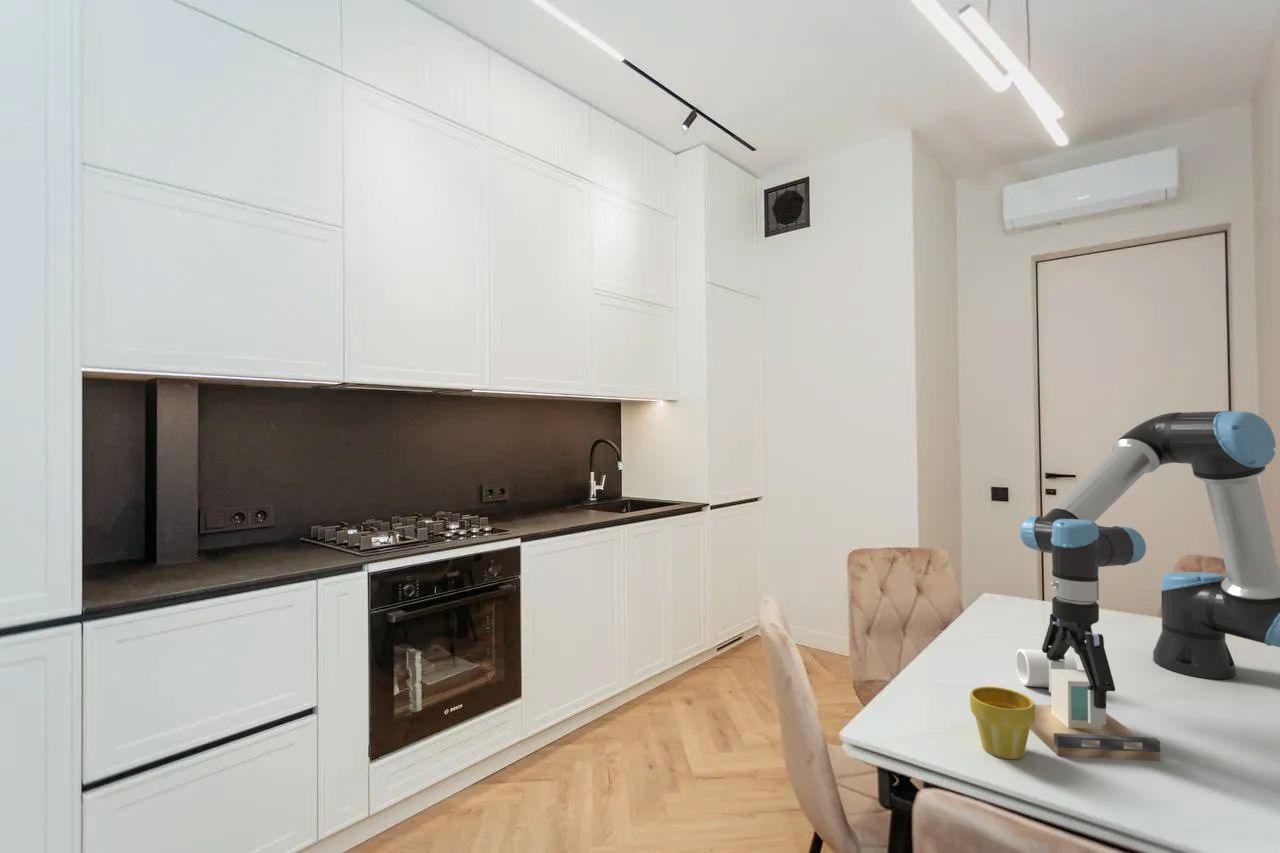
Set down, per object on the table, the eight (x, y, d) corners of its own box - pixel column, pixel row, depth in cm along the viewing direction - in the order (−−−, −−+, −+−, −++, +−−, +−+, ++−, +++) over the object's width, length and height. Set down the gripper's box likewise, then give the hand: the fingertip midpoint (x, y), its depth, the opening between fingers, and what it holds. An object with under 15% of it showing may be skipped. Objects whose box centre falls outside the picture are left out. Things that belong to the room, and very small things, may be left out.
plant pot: (958, 737, 119) (958, 686, 119) (1009, 735, 120) (1009, 684, 120) (993, 767, 109) (993, 711, 109) (1049, 763, 110) (1049, 708, 110)
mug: (1078, 695, 138) (1078, 659, 138) (1029, 691, 140) (1028, 656, 140) (1054, 674, 150) (1054, 640, 150) (1008, 671, 152) (1008, 638, 152)
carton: (1050, 713, 126) (1050, 668, 126) (1082, 714, 125) (1082, 669, 125) (1068, 728, 120) (1068, 681, 120) (1102, 729, 119) (1102, 682, 119)
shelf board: (1098, 714, 128) (1098, 697, 128) (1160, 761, 110) (1160, 741, 110) (1010, 710, 130) (1010, 693, 130) (1058, 756, 112) (1057, 736, 112)
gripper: (1023, 582, 135) (1024, 680, 135) (1092, 617, 111) (1093, 737, 111) (1060, 583, 134) (1061, 682, 134) (1138, 619, 110) (1139, 739, 110)
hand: (1075, 707), depth 122 cm, fingers open, 13 cm apart
